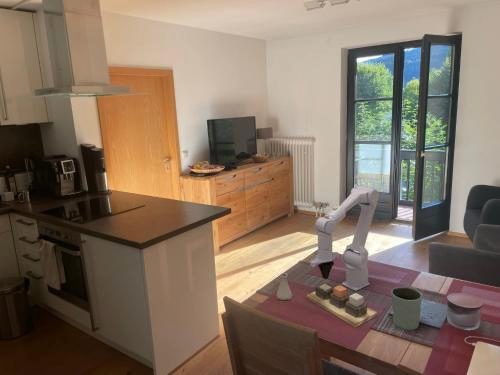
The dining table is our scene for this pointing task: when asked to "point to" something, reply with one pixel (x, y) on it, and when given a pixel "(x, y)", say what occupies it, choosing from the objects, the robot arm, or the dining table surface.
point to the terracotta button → (340, 291)
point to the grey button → (356, 300)
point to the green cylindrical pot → (406, 307)
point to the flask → (284, 289)
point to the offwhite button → (325, 287)
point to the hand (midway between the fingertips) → (325, 277)
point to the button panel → (341, 306)
